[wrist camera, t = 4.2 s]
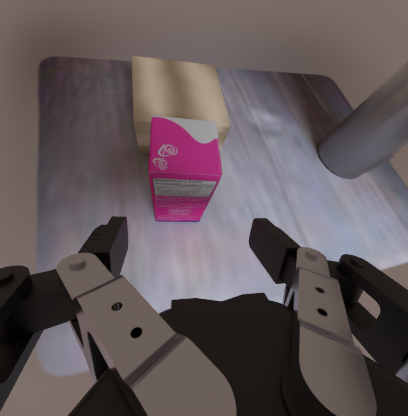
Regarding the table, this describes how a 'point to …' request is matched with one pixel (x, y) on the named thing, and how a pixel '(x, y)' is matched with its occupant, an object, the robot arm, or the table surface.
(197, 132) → the supplement box
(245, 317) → the robot arm
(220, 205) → the table surface
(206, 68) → the birch block
